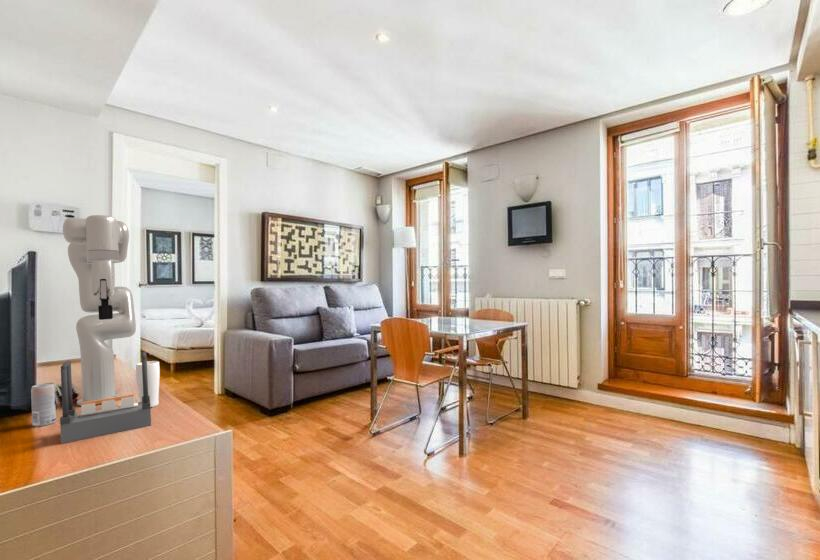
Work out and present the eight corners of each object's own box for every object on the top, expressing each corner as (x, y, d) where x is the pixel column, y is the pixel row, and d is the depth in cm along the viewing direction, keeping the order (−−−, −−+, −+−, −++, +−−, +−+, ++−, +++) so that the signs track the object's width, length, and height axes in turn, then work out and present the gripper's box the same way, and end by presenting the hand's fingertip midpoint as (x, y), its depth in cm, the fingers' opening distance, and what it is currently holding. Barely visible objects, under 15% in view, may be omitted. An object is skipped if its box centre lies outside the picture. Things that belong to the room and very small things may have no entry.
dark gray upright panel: (66, 414, 113) (64, 360, 113) (75, 413, 114) (73, 359, 114) (60, 425, 104) (57, 366, 104) (70, 423, 106) (67, 365, 106)
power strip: (66, 432, 113) (66, 415, 113) (150, 416, 124) (149, 400, 124) (61, 443, 105) (60, 425, 105) (151, 425, 116) (150, 408, 116)
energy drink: (53, 419, 125) (51, 382, 125) (58, 422, 122) (56, 384, 122) (30, 425, 121) (28, 386, 121) (34, 428, 117) (33, 388, 117)
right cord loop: (142, 401, 123) (140, 351, 123) (149, 400, 124) (147, 351, 124) (142, 410, 115) (140, 356, 115) (150, 408, 116) (148, 355, 116)
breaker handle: (77, 416, 111) (77, 402, 111) (138, 405, 119) (137, 393, 119) (77, 417, 110) (76, 404, 110) (138, 406, 118) (137, 394, 118)
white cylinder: (135, 411, 130) (133, 365, 130) (140, 405, 137) (138, 362, 137) (159, 407, 133) (157, 363, 133) (162, 402, 139) (161, 360, 139)
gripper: (89, 259, 121) (92, 319, 121) (84, 255, 109) (87, 321, 108) (119, 259, 125) (122, 317, 125) (117, 255, 113) (120, 319, 113)
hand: (105, 319), depth 117 cm, fingers closed
